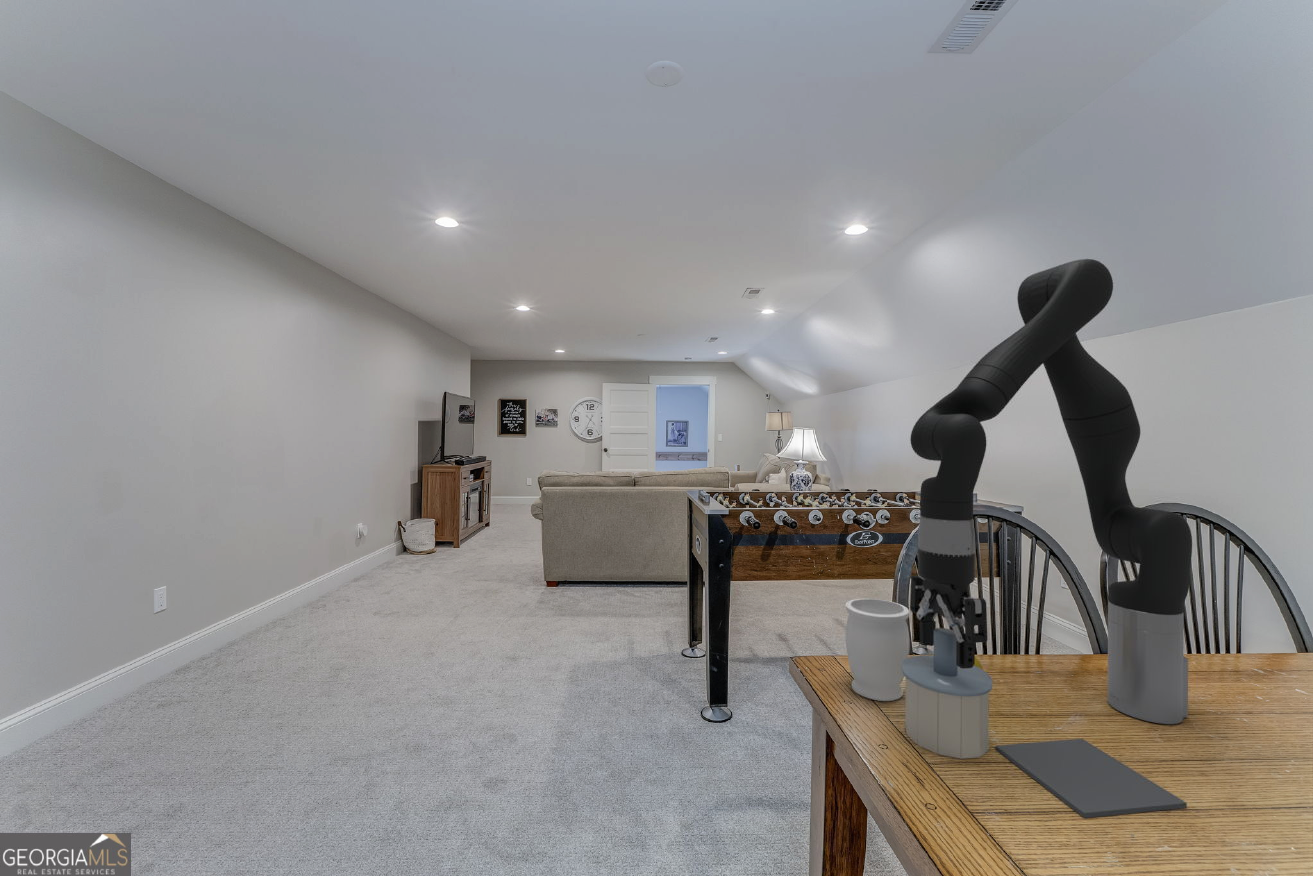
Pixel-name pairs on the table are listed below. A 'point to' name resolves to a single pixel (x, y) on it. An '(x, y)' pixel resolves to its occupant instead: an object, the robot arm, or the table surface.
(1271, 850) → the table surface
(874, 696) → the jar
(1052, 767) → the mat
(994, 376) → the robot arm
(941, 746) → the crock
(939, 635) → the lid
